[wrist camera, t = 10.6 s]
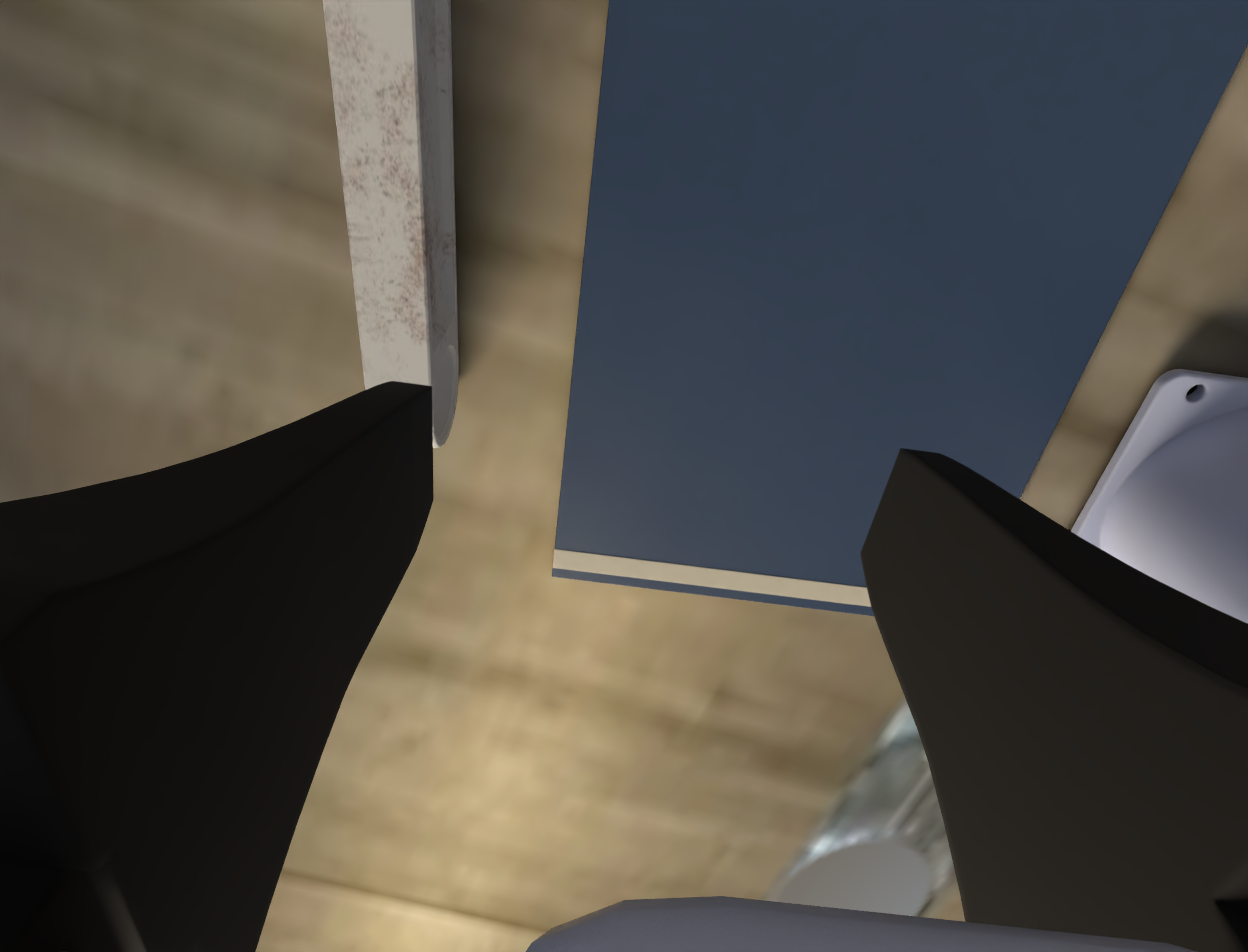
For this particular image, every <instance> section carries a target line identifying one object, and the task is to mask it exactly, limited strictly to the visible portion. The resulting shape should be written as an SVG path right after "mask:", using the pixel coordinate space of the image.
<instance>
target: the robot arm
mask: <svg viewBox="0 0 1248 952" xmlns="http://www.w3.org/2000/svg"><path fill="white" fill-rule="evenodd" d="M1195 385H1198V386H1197V389H1196V390H1195V391H1194V392H1193V393H1191V394H1189V395H1187V392H1188V391H1189V389H1190V388H1191V387H1193V386H1195ZM1186 395H1187V396H1186ZM432 502H433V427H432V386H427V385H420V384H412V383H405V382H397V381H389V382H385V383H382V384H379V385H377V386H374V387H372V388H369V389H367V390H365V391H362V392H360V393H358V394H355V395H353V396H351V397H349V398H347V399H344V400H342V401H340V402H338V403H335V404H333V405H331V406H329V407H327V408H324V409H322V410H320V411H318V412H315V413H313V414H311V415H309V416H306V417H304V418H302V419H300V420H297V421H295V422H293V423H290V424H288V425H285V426H283V427H280V428H278V429H275V430H272V431H270V432H267V433H265V434H262V435H260V436H257V437H255V438H252V439H250V440H247V441H245V442H242V443H240V444H237V445H235V446H232V447H229V448H226V449H223V450H220V451H217V452H214V453H211V454H208V455H205V456H202V457H199V458H196V459H193V460H189V461H186V462H182V463H179V464H176V465H172V466H169V467H165V468H162V469H159V470H155V471H151V472H147V473H144V474H140V475H135V476H131V477H126V478H122V479H117V480H113V481H108V482H104V483H99V484H95V485H91V486H86V487H82V488H77V489H73V490H68V491H64V492H59V493H54V494H49V495H43V496H38V497H32V498H26V499H20V500H14V501H8V502H3V503H0V952H255V951H256V948H257V945H258V942H259V938H260V935H261V932H262V929H263V925H264V922H265V919H266V916H267V913H268V909H269V906H270V903H271V900H272V897H273V894H274V891H275V888H276V885H277V882H278V879H279V876H280V873H281V870H282V867H283V864H284V861H285V858H286V855H287V852H288V849H289V846H290V843H291V840H292V837H293V834H294V831H295V828H296V825H297V822H298V819H299V817H300V814H301V811H302V808H303V805H304V803H305V800H306V797H307V794H308V791H309V789H310V786H311V783H312V780H313V777H314V775H315V772H316V769H317V766H318V763H319V761H320V758H321V755H322V752H323V750H324V747H325V744H326V742H327V739H328V737H329V734H330V731H331V729H332V726H333V723H334V721H335V718H336V716H337V713H338V710H339V708H340V705H341V702H342V700H343V697H344V695H345V692H346V690H347V688H348V685H349V683H350V681H351V679H352V677H353V675H354V672H355V670H356V668H357V666H358V664H359V662H360V660H361V658H362V656H363V654H364V652H365V650H366V648H367V646H368V644H369V642H370V641H371V639H372V637H373V635H374V633H375V631H376V629H377V627H378V625H379V623H380V621H381V619H382V617H383V615H384V613H385V612H386V610H387V608H388V606H389V604H390V602H391V600H392V598H393V596H394V594H395V592H396V590H397V588H398V586H399V584H400V582H401V580H402V578H403V576H404V574H405V572H406V570H407V569H408V567H409V565H410V563H411V561H412V558H413V556H414V554H415V552H416V550H417V547H418V544H419V541H420V539H421V536H422V533H423V530H424V527H425V524H426V521H427V518H428V515H429V512H430V509H431V505H432ZM860 555H861V560H862V565H863V571H864V576H865V582H866V586H867V591H868V595H869V599H870V604H871V608H872V611H873V613H874V616H875V619H876V622H877V624H878V627H879V630H880V633H881V635H882V638H883V641H884V643H885V646H886V649H887V651H888V654H889V656H890V659H891V662H892V664H893V667H894V669H895V672H896V675H897V677H898V680H899V682H900V685H901V688H902V690H903V693H904V695H905V698H906V700H907V703H908V706H909V708H910V711H911V713H912V716H913V719H914V721H915V724H916V726H917V729H918V732H919V735H920V738H921V741H922V744H923V747H924V750H925V753H926V756H927V759H928V762H929V766H930V770H931V774H932V778H933V782H934V786H935V789H936V793H937V797H938V801H939V805H940V809H941V813H942V816H943V820H944V824H945V829H946V833H947V838H948V842H949V846H950V851H951V855H952V860H953V864H954V869H955V873H956V877H957V882H958V886H959V891H960V895H961V901H962V906H963V911H964V916H965V921H966V922H962V921H952V920H943V919H933V918H924V917H914V916H905V915H895V914H886V913H877V912H867V911H857V910H848V909H838V908H829V907H819V906H810V905H800V904H791V903H782V902H772V901H763V900H753V899H744V898H734V897H725V896H716V897H691V898H665V899H640V900H624V901H621V902H618V903H616V904H613V905H611V906H608V907H606V908H603V909H600V910H598V911H595V912H593V913H590V914H587V915H585V916H582V917H580V918H577V919H575V920H572V921H569V922H567V923H564V924H562V925H559V926H556V927H554V928H551V929H550V930H548V931H547V932H546V933H545V934H543V935H542V936H541V937H539V938H538V939H537V940H535V941H534V942H533V943H531V945H530V946H529V948H528V949H527V951H526V952H1248V378H1243V377H1236V376H1229V375H1221V374H1214V373H1207V372H1200V371H1193V370H1185V369H1173V370H1170V371H1167V372H1165V373H1164V374H1162V375H1161V376H1159V377H1158V379H1157V380H1156V381H1155V382H1154V384H1153V385H1152V387H1151V389H1150V391H1149V393H1148V394H1147V396H1146V398H1145V400H1144V401H1143V403H1142V405H1141V407H1140V409H1139V410H1138V412H1137V414H1136V416H1135V417H1134V419H1133V421H1132V423H1131V424H1130V426H1129V428H1128V430H1127V432H1126V433H1125V435H1124V437H1123V439H1122V440H1121V442H1120V444H1119V446H1118V448H1117V449H1116V451H1115V453H1114V455H1113V456H1112V458H1111V460H1110V462H1109V464H1108V465H1107V467H1106V469H1105V471H1104V472H1103V474H1102V476H1101V478H1100V480H1099V481H1098V483H1097V485H1096V487H1095V488H1094V490H1093V492H1092V494H1091V495H1090V497H1089V499H1088V501H1087V503H1086V504H1085V506H1084V508H1083V510H1082V511H1081V513H1080V515H1079V517H1078V519H1077V520H1076V522H1075V524H1074V526H1073V527H1072V529H1071V531H1069V530H1068V529H1066V528H1064V527H1063V526H1061V525H1059V524H1058V523H1056V522H1055V521H1053V520H1051V519H1050V518H1048V517H1047V516H1045V515H1043V514H1042V513H1040V512H1039V511H1037V510H1036V509H1034V508H1032V507H1031V506H1029V505H1028V504H1026V503H1024V502H1023V501H1021V500H1020V499H1018V498H1017V497H1015V496H1014V495H1012V494H1010V493H1009V492H1007V491H1006V490H1004V489H1002V488H1001V487H999V486H998V485H996V484H995V483H993V482H991V481H990V480H988V479H987V478H985V477H983V476H982V475H980V474H978V473H977V472H975V471H973V470H972V469H970V468H968V467H967V466H965V465H963V464H961V463H959V462H957V461H955V460H954V459H952V458H949V457H947V456H945V455H943V454H940V453H935V452H927V451H920V450H912V449H905V448H900V451H899V453H898V456H897V458H896V461H895V464H894V466H893V469H892V472H891V474H890V477H889V479H888V482H887V485H886V487H885V490H884V492H883V495H882V498H881V500H880V503H879V506H878V508H877V511H876V513H875V516H874V519H873V521H872V524H871V527H870V529H869V532H868V534H867V537H866V540H865V542H864V545H863V548H862V550H861V553H860Z"/></svg>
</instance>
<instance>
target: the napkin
mask: <svg viewBox="0 0 1248 952" xmlns="http://www.w3.org/2000/svg"><path fill="white" fill-rule="evenodd" d="M1247 45H1248V0H609V7H608V17H607V27H606V37H605V47H604V58H603V68H602V78H601V88H600V98H599V108H598V118H597V128H596V138H595V148H594V158H593V168H592V178H591V188H590V198H589V208H588V218H587V229H586V239H585V249H584V259H583V269H582V279H581V289H580V299H579V309H578V319H577V329H576V339H575V349H574V359H573V369H572V379H571V389H570V399H569V410H568V420H567V430H566V440H565V450H564V460H563V470H562V480H561V490H560V500H559V510H558V520H557V530H556V540H555V550H554V560H553V570H552V577H559V578H567V579H575V580H584V581H592V582H600V583H608V584H616V585H625V586H633V587H641V588H649V589H657V590H665V591H674V592H682V593H690V594H698V595H706V596H714V597H723V598H731V599H739V600H747V601H755V602H764V603H772V604H780V605H788V606H796V607H804V608H813V609H821V610H829V611H837V612H845V613H854V614H862V615H870V616H874V613H873V611H872V608H871V604H870V599H869V595H868V591H867V586H866V582H865V576H864V571H863V565H862V560H861V555H860V553H861V550H862V548H863V545H864V542H865V540H866V537H867V534H868V532H869V529H870V527H871V524H872V521H873V519H874V516H875V513H876V511H877V508H878V506H879V503H880V500H881V498H882V495H883V492H884V490H885V487H886V485H887V482H888V479H889V477H890V474H891V472H892V469H893V466H894V464H895V461H896V458H897V456H898V453H899V451H900V448H905V449H912V450H920V451H927V452H935V453H940V454H943V455H945V456H947V457H949V458H952V459H954V460H955V461H957V462H959V463H961V464H963V465H965V466H967V467H968V468H970V469H972V470H973V471H975V472H977V473H978V474H980V475H982V476H983V477H985V478H987V479H988V480H990V481H991V482H993V483H995V484H996V485H998V486H999V487H1001V488H1002V489H1004V490H1006V491H1007V492H1009V493H1010V494H1012V495H1014V496H1015V497H1017V498H1018V499H1019V498H1020V496H1021V494H1022V492H1023V490H1024V488H1025V486H1026V484H1027V482H1028V480H1029V478H1030V476H1031V474H1032V472H1033V470H1034V468H1035V466H1036V464H1037V462H1038V460H1039V458H1040V456H1041V454H1042V453H1043V451H1044V449H1045V447H1046V445H1047V443H1048V441H1049V439H1050V437H1051V435H1052V433H1053V431H1054V429H1055V427H1056V425H1057V423H1058V421H1059V419H1060V417H1061V415H1062V413H1063V411H1064V409H1065V407H1066V405H1067V403H1068V401H1069V399H1070V397H1071V395H1072V393H1073V391H1074V389H1075V387H1076V385H1077V383H1078V381H1079V379H1080V377H1081V375H1082V373H1083V371H1084V369H1085V367H1086V365H1087V363H1088V361H1089V359H1090V357H1091V355H1092V353H1093V351H1094V349H1095V347H1096V345H1097V343H1098V341H1099V339H1100V337H1101V335H1102V333H1103V331H1104V329H1105V327H1106V325H1107V323H1108V321H1109V319H1110V317H1111V315H1112V313H1113V311H1114V309H1115V307H1116V305H1117V303H1118V301H1119V299H1120V297H1121V295H1122V293H1123V291H1124V289H1125V287H1126V285H1127V283H1128V281H1129V279H1130V277H1131V275H1132V273H1133V271H1134V269H1135V267H1136V265H1137V264H1138V262H1139V260H1140V258H1141V256H1142V254H1143V252H1144V250H1145V248H1146V246H1147V244H1148V242H1149V240H1150V238H1151V236H1152V234H1153V232H1154V230H1155V228H1156V226H1157V224H1158V222H1159V220H1160V218H1161V216H1162V214H1163V212H1164V210H1165V208H1166V206H1167V204H1168V202H1169V200H1170V198H1171V196H1172V194H1173V192H1174V190H1175V188H1176V186H1177V184H1178V182H1179V180H1180V178H1181V176H1182V174H1183V172H1184V170H1185V168H1186V166H1187V164H1188V162H1189V160H1190V158H1191V156H1192V154H1193V152H1194V150H1195V148H1196V146H1197V144H1198V142H1199V140H1200V138H1201V136H1202V134H1203V132H1204V130H1205V128H1206V126H1207V124H1208V122H1209V120H1210V118H1211V116H1212V114H1213V112H1214V110H1215V108H1216V106H1217V104H1218V102H1219V100H1220V98H1221V96H1222V94H1223V92H1224V90H1225V88H1226V86H1227V84H1228V82H1229V80H1230V78H1231V76H1232V75H1233V73H1234V71H1235V69H1236V67H1237V65H1238V63H1239V61H1240V59H1241V57H1242V55H1243V53H1244V51H1245V49H1246V47H1247Z"/></svg>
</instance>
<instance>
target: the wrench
mask: <svg viewBox="0 0 1248 952" xmlns="http://www.w3.org/2000/svg"><path fill="white" fill-rule="evenodd" d="M323 9H324V18H325V27H326V36H327V45H328V54H329V63H330V72H331V81H332V90H333V99H334V109H335V118H336V127H337V136H338V145H339V154H340V163H341V172H342V181H343V190H344V200H345V209H346V218H347V227H348V236H349V245H350V254H351V263H352V272H353V281H354V291H355V300H356V309H357V318H358V327H359V336H360V345H361V354H362V363H363V373H364V381H365V390H367V389H369V388H372V387H374V386H377V385H379V384H382V383H385V382H389V381H397V382H405V383H412V384H420V385H427V386H432V427H433V448H438V447H440V446H442V445H443V444H444V443H445V442H446V440H447V438H448V436H449V433H450V430H451V427H452V423H453V419H454V415H455V409H456V402H457V395H458V381H459V357H458V320H457V274H456V234H455V193H454V146H453V97H452V48H451V0H323Z"/></svg>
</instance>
